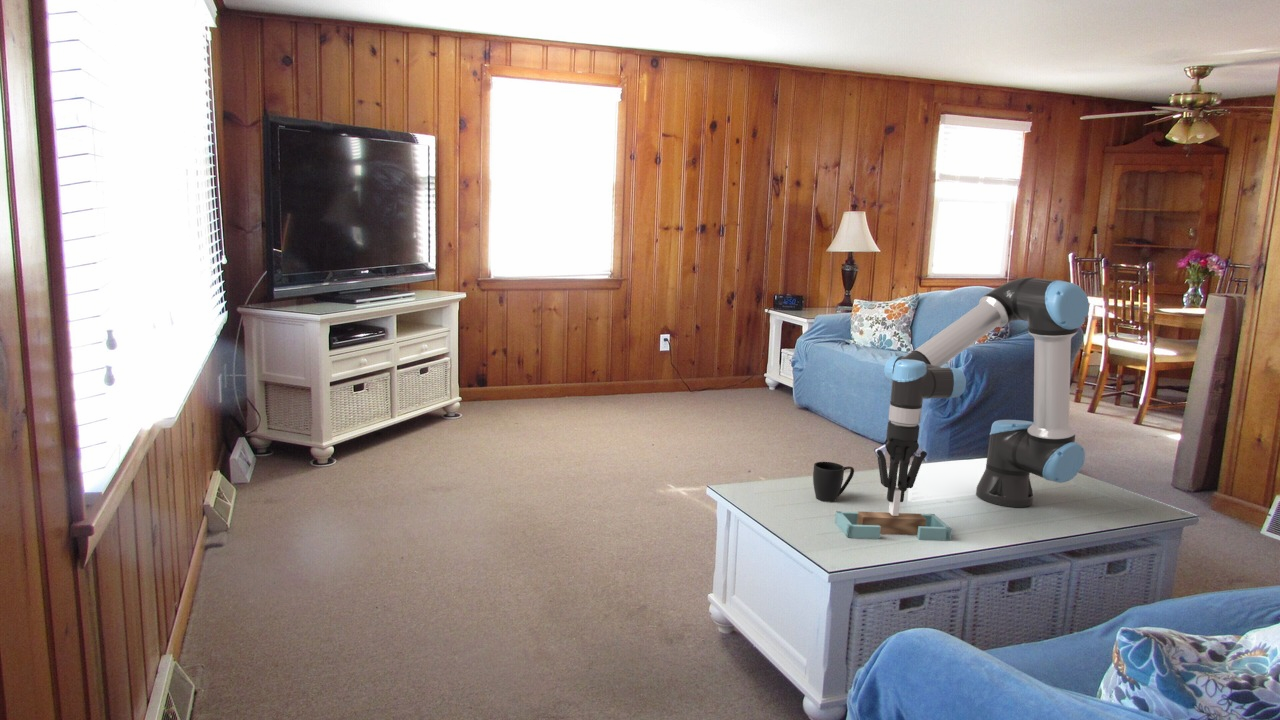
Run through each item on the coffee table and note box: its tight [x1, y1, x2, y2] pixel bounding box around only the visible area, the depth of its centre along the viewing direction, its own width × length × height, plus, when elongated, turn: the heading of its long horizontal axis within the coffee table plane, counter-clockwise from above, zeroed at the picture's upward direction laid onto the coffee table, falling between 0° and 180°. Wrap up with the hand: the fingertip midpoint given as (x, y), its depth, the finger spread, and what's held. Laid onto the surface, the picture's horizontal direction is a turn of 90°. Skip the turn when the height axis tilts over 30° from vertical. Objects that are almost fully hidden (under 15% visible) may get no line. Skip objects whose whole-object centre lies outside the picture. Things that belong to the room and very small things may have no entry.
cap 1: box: [834, 510, 881, 540], centre depth 215 cm, size 8×10×3 cm
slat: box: [857, 511, 926, 536], centre depth 216 cm, size 16×4×4 cm, turn 93°
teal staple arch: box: [913, 512, 953, 541], centre depth 216 cm, size 8×10×3 cm
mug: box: [812, 461, 855, 503], centre depth 238 cm, size 8×12×10 cm
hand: (893, 513), depth 215 cm, fingers closed
